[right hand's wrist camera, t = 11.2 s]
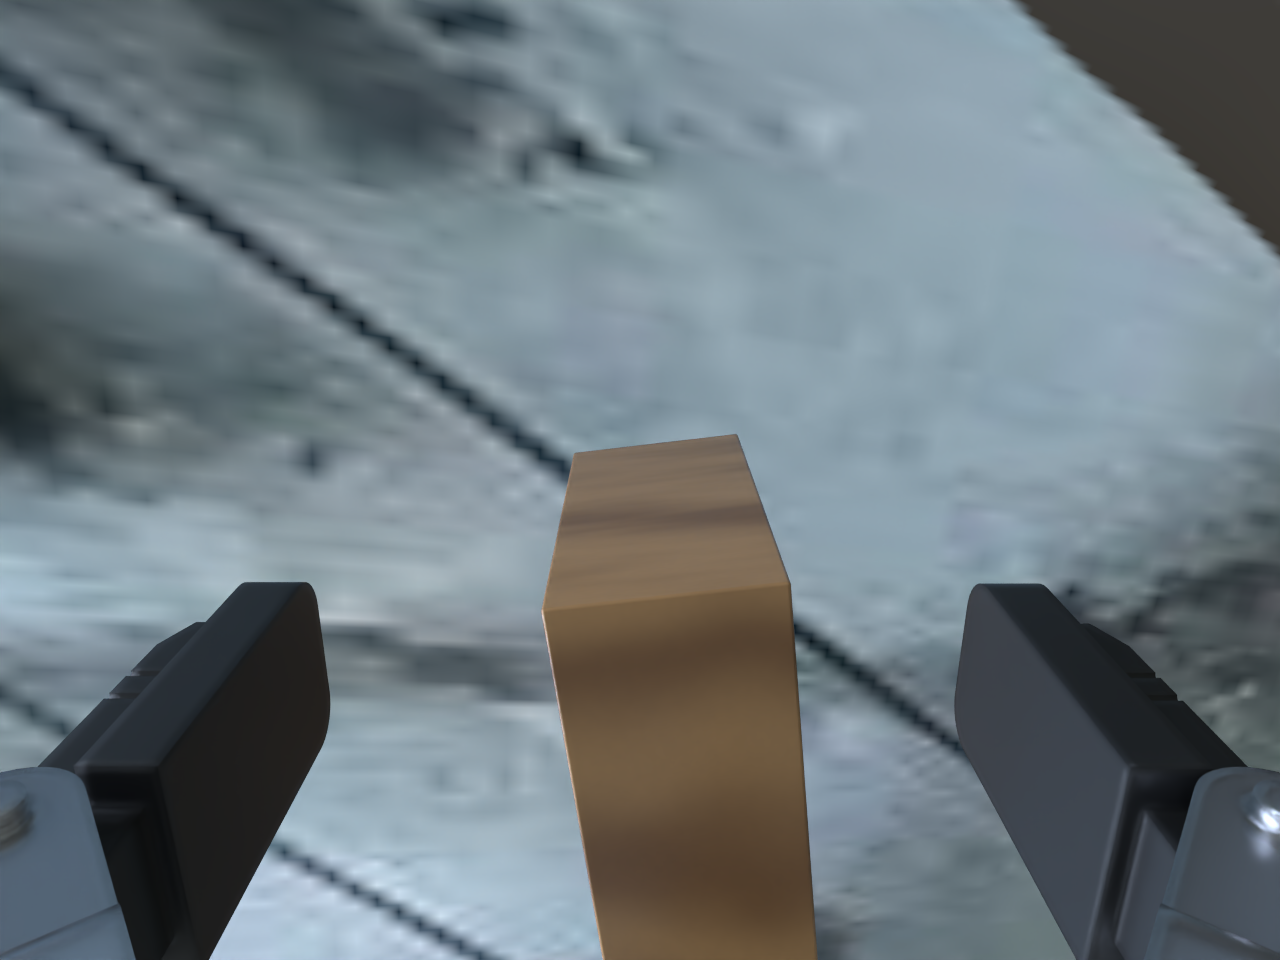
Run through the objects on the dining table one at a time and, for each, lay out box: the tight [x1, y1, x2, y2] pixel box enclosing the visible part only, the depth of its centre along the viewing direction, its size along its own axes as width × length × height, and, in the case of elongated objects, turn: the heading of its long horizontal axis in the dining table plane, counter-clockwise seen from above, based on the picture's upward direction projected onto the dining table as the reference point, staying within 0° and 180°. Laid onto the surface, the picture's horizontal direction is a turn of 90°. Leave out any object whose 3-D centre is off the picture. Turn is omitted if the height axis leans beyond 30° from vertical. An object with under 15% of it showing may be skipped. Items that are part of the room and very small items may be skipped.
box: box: [541, 434, 818, 960], centre depth 32 cm, size 28×6×12 cm, turn 7°
